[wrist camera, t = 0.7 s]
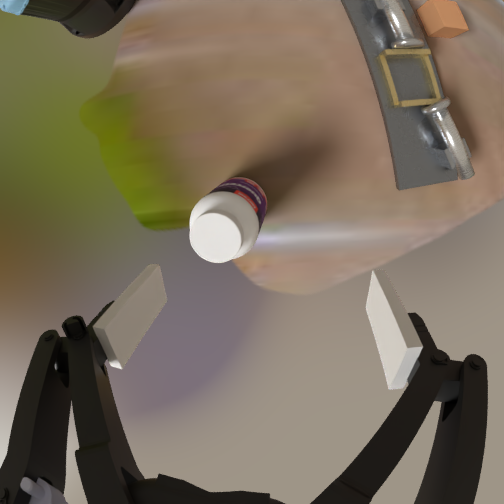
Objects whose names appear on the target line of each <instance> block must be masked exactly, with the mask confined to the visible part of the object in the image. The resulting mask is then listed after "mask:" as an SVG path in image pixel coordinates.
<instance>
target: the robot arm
mask: <svg viewBox="0 0 504 504" xmlns="http://www.w3.org/2000/svg"><path fill="white" fill-rule="evenodd" d="M134 1H135V0H0V8H1V9H2V10H3V11H6V12H10V13H14V14H16V15H20V14H21V15H27V16H33V17H38V18H44V19H48V20H53V21H58V22H60V23H61V24H62V25H63V26H64V27H65V28H66V29H68V31H69V32H71V33H72V34H73V35H75V36H78V37H82V38H94V37H97V36H100V35H102V34H104V33H106V32H107V31H109V30H110V29H112V28H113V27H114V26H115V25H116V24H118V23H119V22H120V21H121V20H122V19H123V17H124V16H125V15H126V14H127V13H128V11H129V10H130V8H131V7H132V5H133V3H134ZM166 301H167V297H166V293H165V288H164V284H163V279H162V274H161V270H160V265H158V264H157V265H156V264H149V265H148V266H147V267H146V268H145V269H144V270H143V271H142V272H141V273H140V274H139V276H138V277H137V278H136V279H135V280H134V281H133V282H132V283H131V284H130V285H129V286H128V287H127V288H126V290H125V291H124V292H123V293H122V294H121V295H120V296H119V297H118V298H117V299H116V301H112V302H110V303H109V304H107V305H106V306H105V307H104V308H103V309H102V310H101V312H99V314H98V316H96V317H95V318H94V319H93V320H92V321H91V323H90V324H89V325H88V326H87V327H86V324H85V322H84V320H83V318H82V317H81V316H77V315H76V316H72V317H69V318H68V319H66V320H65V321H64V322H63V324H62V328H63V330H64V332H65V334H66V336H67V337H60V336H59V334H58V332H57V331H56V330H48V331H46V332H44V333H43V334H42V335H41V336H40V338H39V341H38V343H37V346H36V348H35V351H34V354H33V356H32V359H31V362H30V365H29V368H28V371H27V373H26V377H25V380H24V383H23V386H22V389H21V393H20V397H19V400H18V404H17V408H16V412H15V416H14V420H13V424H12V429H11V434H10V439H9V446H8V451H7V455H6V457H5V460H4V462H3V464H2V466H1V468H0V504H68V503H67V502H66V501H65V497H64V496H63V494H64V488H65V477H66V450H67V436H68V425H69V416H70V415H69V414H70V407H71V400H72V406H73V413H74V420H75V425H76V431H77V437H78V442H79V450H76V451H75V457H76V462H77V466H78V470H79V474H80V478H81V482H82V485H83V489H84V492H85V495H86V498H87V501H88V504H285V503H283V502H280V501H278V500H275V499H271V498H270V494H269V493H257V492H246V491H232V492H208V491H206V490H203V489H201V488H199V487H196V486H194V485H193V484H190V483H188V482H186V481H184V480H180V479H176V478H173V477H169V476H166V475H162V474H159V475H158V477H157V478H150V479H145V478H144V476H143V475H142V474H141V472H140V471H139V469H138V467H137V465H136V462H135V460H134V457H133V455H132V452H131V449H130V447H129V444H128V442H127V439H126V436H125V433H124V430H123V427H122V424H121V421H120V417H119V414H118V411H117V407H116V404H115V400H114V397H113V393H112V389H111V385H110V381H109V377H108V373H107V368H106V366H105V364H104V363H105V361H106V360H107V359H108V361H109V363H110V365H111V366H112V367H116V368H120V369H123V368H124V366H125V364H126V363H127V361H128V360H129V358H130V357H131V355H132V353H133V351H134V350H135V349H136V347H137V345H138V344H139V342H140V340H141V339H142V338H143V336H144V334H145V333H146V332H147V330H148V329H149V327H150V326H151V324H152V323H153V321H154V320H155V318H156V317H157V315H158V314H159V312H160V311H161V309H162V308H163V306H164V305H165V303H166ZM366 311H367V314H368V317H369V320H370V323H371V327H372V330H373V333H374V337H375V340H376V343H377V347H378V350H379V353H380V357H381V361H382V364H383V368H384V372H385V376H386V380H387V384H388V388H389V390H390V389H400V388H404V386H405V384H406V382H407V380H408V383H409V385H408V387H407V388H406V390H405V391H404V393H403V395H402V396H401V398H400V399H399V401H398V402H397V404H396V405H395V407H394V408H393V410H392V411H391V413H390V414H389V416H388V417H387V419H386V420H385V421H384V423H383V424H382V425H381V427H380V428H379V430H378V431H377V432H376V434H375V435H374V436H373V437H372V439H371V440H370V441H369V443H368V444H367V445H366V446H365V448H364V449H363V450H362V451H361V452H360V454H359V455H358V456H357V457H356V458H355V459H354V461H353V462H352V463H351V464H350V465H349V466H348V467H347V469H346V470H345V471H344V472H343V473H342V474H341V475H340V476H339V477H338V478H337V479H335V481H333V482H332V483H331V484H330V485H329V486H328V487H327V488H326V489H325V490H324V491H323V492H322V493H321V494H320V495H319V496H318V497H317V498H316V499H315V500H314V501H313V502H311V503H310V504H369V503H370V502H371V500H372V497H373V496H374V495H375V493H376V492H377V491H378V490H379V488H380V487H381V486H382V484H383V483H384V482H385V481H386V479H387V478H388V476H389V475H390V474H391V472H392V471H393V469H394V468H395V467H396V465H397V464H398V462H399V461H400V459H401V458H402V456H403V455H404V453H405V452H406V450H407V448H408V447H409V445H410V444H411V442H412V440H413V439H414V437H415V435H416V434H417V432H418V430H419V428H420V427H421V425H422V423H423V421H424V419H425V418H426V415H427V414H428V412H429V410H430V408H431V406H432V404H433V402H434V401H440V402H442V403H441V410H440V415H439V420H438V425H437V430H436V434H435V439H434V443H433V447H432V451H431V454H430V458H429V462H428V465H427V468H426V471H425V475H424V478H423V481H422V484H421V487H420V489H419V492H418V495H417V497H416V500H415V502H414V504H474V500H475V496H476V492H477V488H478V483H479V478H480V473H481V468H482V461H483V455H484V448H485V438H486V428H487V409H488V406H487V405H488V380H487V365H486V362H485V361H484V359H483V358H481V357H480V356H478V355H476V354H471V355H468V356H467V357H466V358H465V360H464V361H463V362H461V361H454V360H450V358H449V356H448V355H447V354H446V353H445V352H443V351H442V350H438V349H437V347H436V345H435V343H434V341H433V339H432V337H431V335H430V333H429V332H428V329H427V327H426V326H425V323H424V321H423V320H422V318H421V317H420V316H419V315H418V314H416V313H407V312H406V310H405V308H404V306H403V304H402V302H401V300H400V298H399V296H398V294H397V292H396V290H395V288H394V287H393V285H392V283H391V281H390V279H389V277H388V275H387V274H386V272H385V270H373V271H372V277H371V283H370V288H369V293H368V299H367V303H366Z"/></svg>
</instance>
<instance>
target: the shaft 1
mask: <svg viewBox="0 0 504 504" xmlns="http://www.w3.org/2000/svg"><path fill="white" fill-rule="evenodd" d="M365 2H366V4H367V6H368V8H369V10H370V13H371V15H372V17H387V20H388V22H389V24H390V26H391V29H392V31H393V34H394V36H395V39H396V41H394V42H392V43H391V46H392V49H421V48H424V47H425V45H424V42H423V40H422V39H419V38H415V37H414V34H413V32H412V30H411V27H410V25H409V23H408V20H407V18H406V16H405V14H404V11H405V10H406V9H405V7H404V5H403V3H402V1H401V0H366V1H365Z"/></svg>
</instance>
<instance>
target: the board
mask: <svg viewBox="0 0 504 504" xmlns="http://www.w3.org/2000/svg"><path fill="white" fill-rule="evenodd" d="M365 1H366V0H341V2H342V4H343V6H344V8H345V10H346V12H347V15H348V17H349V19H350V21H351V24H352V26H353V28H354V31H355V33H356V36H357V38H358V41H359V43H360V46H361V48H362V51H363V54H364V57H365V59H366V62H367V65H368V68H369V71H370V74H371V77H372V80H373V84H374V87H375V90H376V94H377V97H378V101H379V104H380V108H381V112H382V116H383V120H384V124H385V128H386V132H387V137H388V142H389V146H390V151H391V157H392V162H393V168H394V174H395V180H396V187H397V189H398V190H404V189H409V188H414V187H420V186H425V185H431V184H436V183H442V182H448V181H454V180H458V177H457V171H456V168H454V169H450V168H447V167H444V166H442V165H441V163H440V161H439V159H438V156H437V154H436V152H435V150H434V148H435V147H437V146H438V145H440V144H441V143H443V142H444V140H443V138H442V136H441V134H440V132H439V130H438V128H437V126H436V124H435V122H434V120H433V118H432V116H431V114H429V115H423V113H422V111H421V108H422V107H423V106H424V105H430V104H433V103H435V102H436V101H438V100H440V99H442V97H444V95H443V91H442V88H441V84H440V81H439V77H438V74H437V71H436V67H435V64H434V61H433V58H432V56H431V51H430V49H429V47H428V45H427V42H426V39H425V37H424V34H423V32H422V29H421V27H420V25H419V22H418V20H417V18H416V16H415V14H414V12H413V9H412V7H411V5H410V3H409V1H408V0H401V1H402V3H403V5H404V7H405V9H406V10H405V11H404V14H405V16H406V18H407V20H408V23H409V25H410V27H411V30H412V32H413V34H414V37H415V38H419V39H422V40H423V42H424V45H425V47H424V48H421V49H392V46H391V43H392V42H394V41H396V39H395V36H394V34H393V31H392V29H391V26H390V24H389V22H388V20H387V17H372V15H371V13H370V10H369V8H368V6H367V4H366V2H365Z"/></svg>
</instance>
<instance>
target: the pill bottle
mask: <svg viewBox="0 0 504 504" xmlns="http://www.w3.org/2000/svg"><path fill="white" fill-rule="evenodd" d="M266 211H267V199H266V196H265V193H264V191H263V190H262V188H261V187H260V186H259V185H258V184H257V183H255V182H254V181H252V180H250V179H247V178H242V177H236V178H231V179H228V180H226V181H225V182H223V183H222V184H220V185H219V186H218V187H216V188H215V189H214V190H212V191H211V192H210V193H208V194H207V195H206V196H205V197H203V198H202V199H201V200H200V201H199V202H198V203H197V204H196V205H195V207H194V209H193V211H192V213H191V216H190V241H191V244H192V247H193V249H194V250H195V252H196V253H197V254H198V255H200V257H202V258H203V259H205V260H207V261H210V262H215V263H222V262H226V261H229V260H231V259H235V258H238V257H241V256H242V255H244V254H246V253H247V252H248V251H249V250H250V249H251V248H252V247H253V245H254V244H255V242H256V240H257V237H258V234H259V231H260V228H261V226H262V223H263V220H264V217H265V215H266Z"/></svg>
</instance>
